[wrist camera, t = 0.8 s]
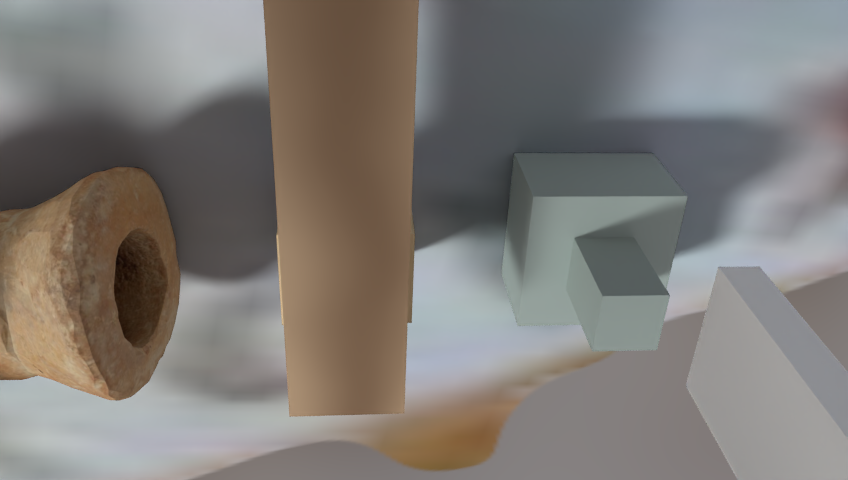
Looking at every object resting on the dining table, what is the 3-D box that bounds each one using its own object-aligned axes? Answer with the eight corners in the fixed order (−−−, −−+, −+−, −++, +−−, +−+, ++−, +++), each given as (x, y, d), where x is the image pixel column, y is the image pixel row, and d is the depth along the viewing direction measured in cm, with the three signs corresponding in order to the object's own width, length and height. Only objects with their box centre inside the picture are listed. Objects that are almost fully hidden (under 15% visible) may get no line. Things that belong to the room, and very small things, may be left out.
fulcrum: (501, 273, 36) (537, 390, 29) (514, 152, 33) (558, 252, 26) (628, 271, 36) (694, 386, 29) (653, 153, 33) (731, 250, 26)
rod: (296, 345, 31) (289, 416, 27) (258, -353, 20) (239, -381, 16) (398, 343, 31) (404, 413, 28) (417, -344, 20) (432, -369, 17)
